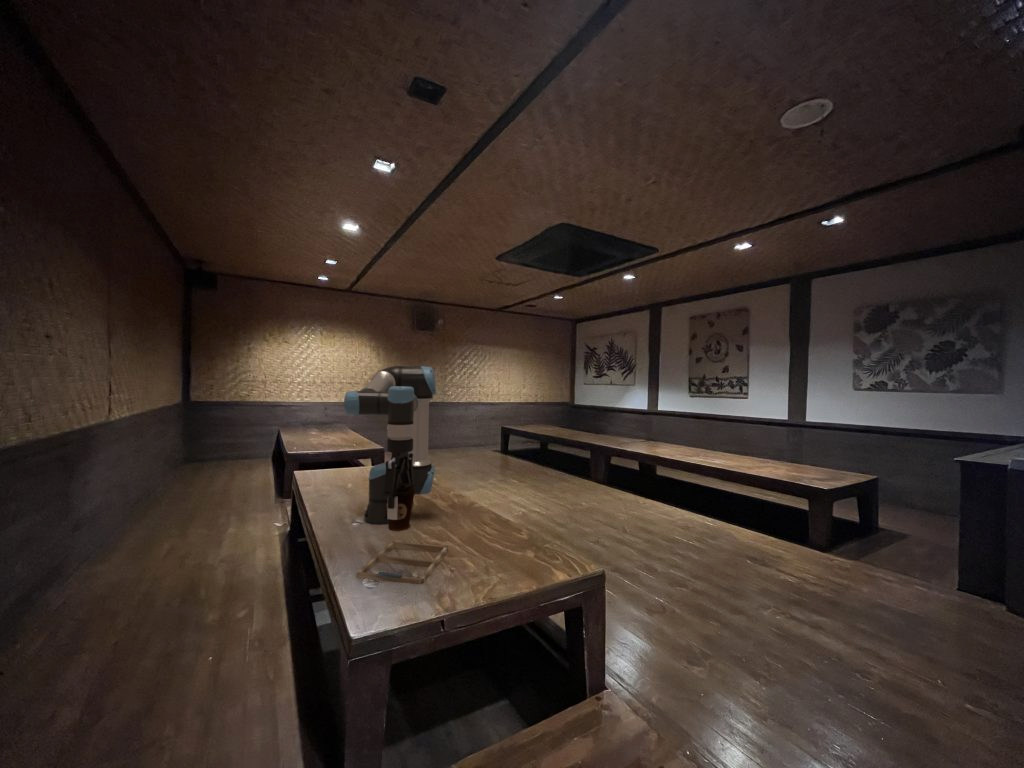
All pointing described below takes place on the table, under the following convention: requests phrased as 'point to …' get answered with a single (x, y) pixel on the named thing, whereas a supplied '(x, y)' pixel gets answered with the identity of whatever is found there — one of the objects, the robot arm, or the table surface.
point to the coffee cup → (403, 507)
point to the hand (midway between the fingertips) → (399, 513)
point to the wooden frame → (403, 562)
